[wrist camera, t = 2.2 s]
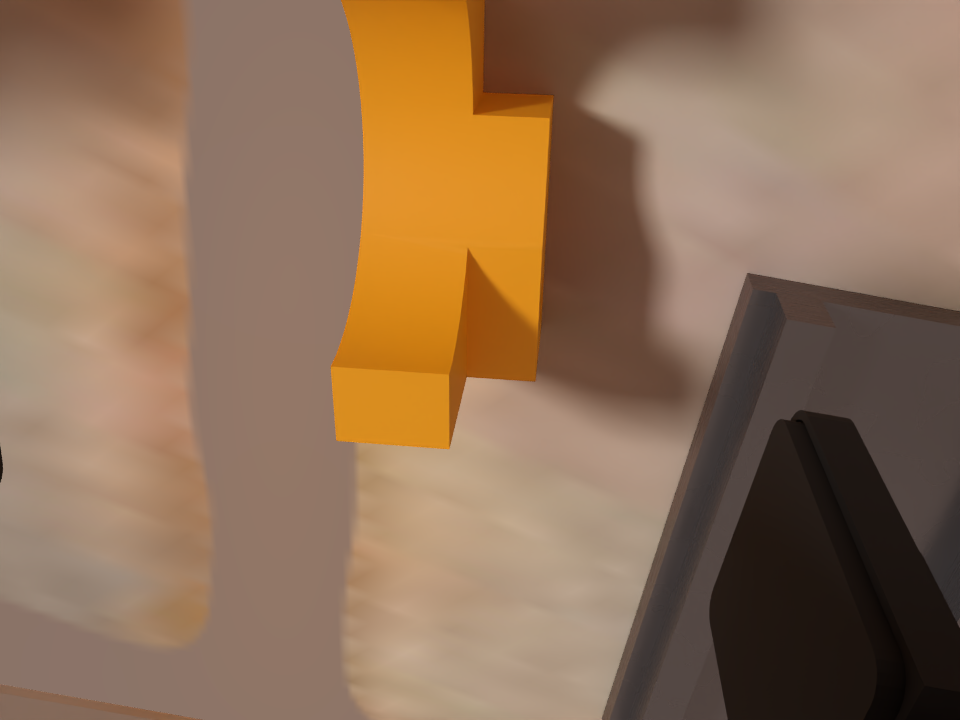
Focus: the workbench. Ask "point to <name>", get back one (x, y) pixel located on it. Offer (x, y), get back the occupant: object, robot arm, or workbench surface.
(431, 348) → the pipe clamp
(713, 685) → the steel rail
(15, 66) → the workbench surface
